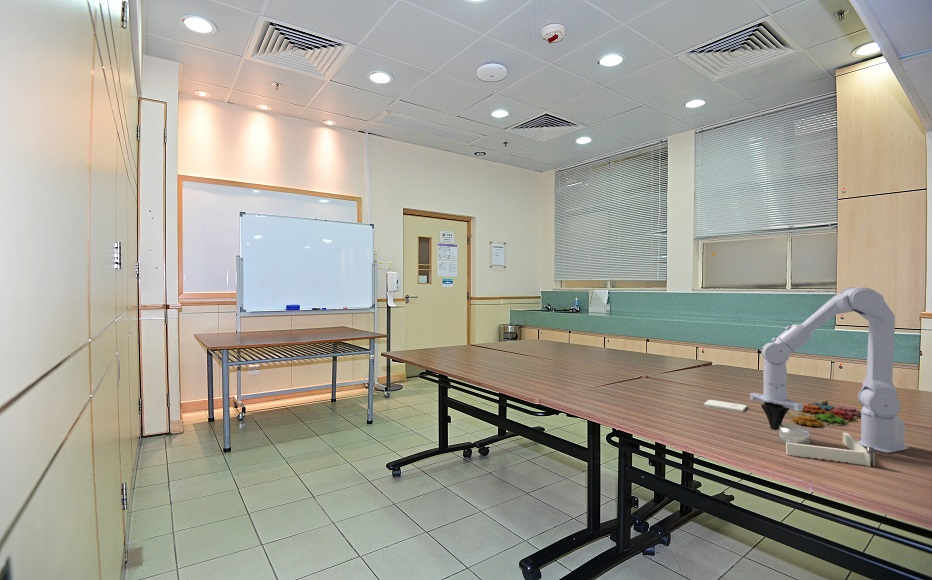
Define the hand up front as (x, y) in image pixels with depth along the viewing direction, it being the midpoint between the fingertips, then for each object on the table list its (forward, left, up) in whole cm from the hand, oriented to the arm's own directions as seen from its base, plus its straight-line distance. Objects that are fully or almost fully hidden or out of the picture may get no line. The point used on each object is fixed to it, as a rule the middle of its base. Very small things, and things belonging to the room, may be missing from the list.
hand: (775, 429), depth 132 cm
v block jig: (0, +18, -2) cm, 18 cm away
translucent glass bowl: (0, +5, -2) cm, 6 cm away
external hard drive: (-14, -29, -3) cm, 32 cm away
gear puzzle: (-31, -8, -3) cm, 33 cm away
